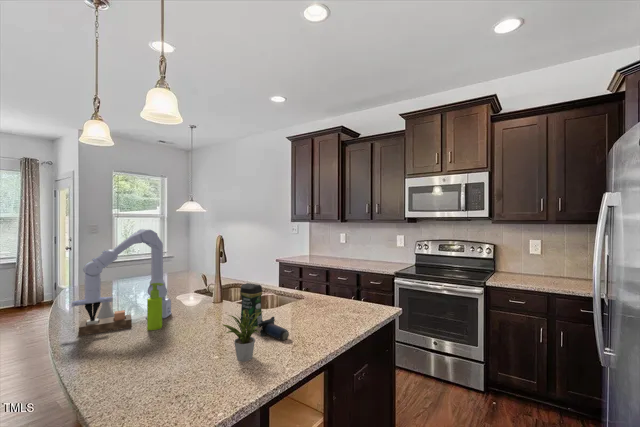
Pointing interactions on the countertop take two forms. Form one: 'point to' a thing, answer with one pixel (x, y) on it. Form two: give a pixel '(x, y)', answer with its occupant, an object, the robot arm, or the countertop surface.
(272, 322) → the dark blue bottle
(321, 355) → the countertop surface
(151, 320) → the soap dispenser
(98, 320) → the white cube
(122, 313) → the salmon pink cube
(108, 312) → the flask
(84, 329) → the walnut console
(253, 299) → the coffee jar
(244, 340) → the house plant
